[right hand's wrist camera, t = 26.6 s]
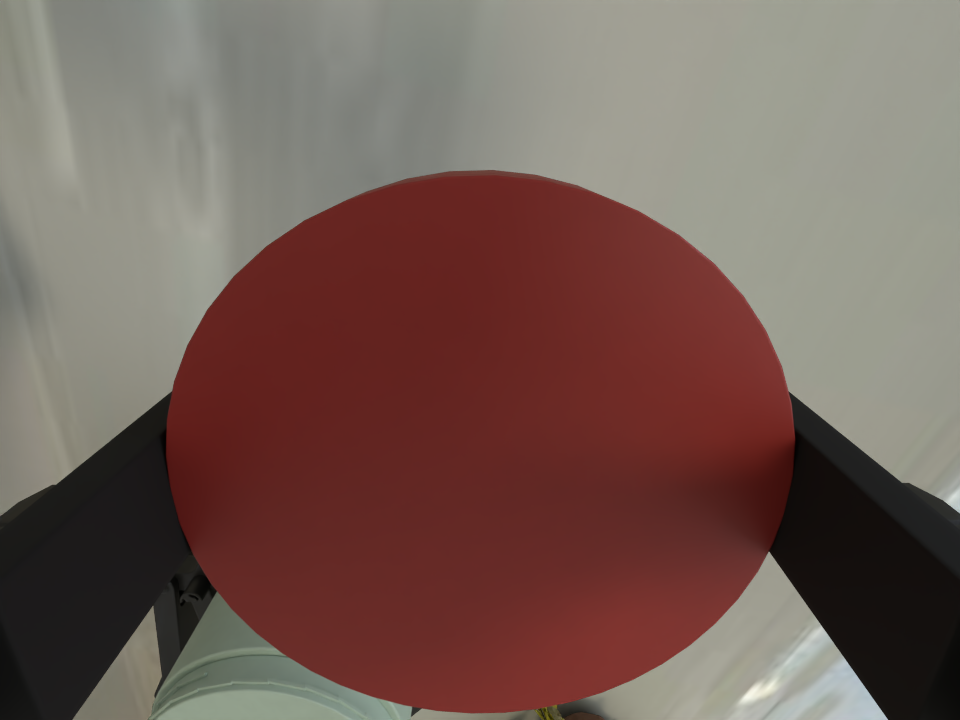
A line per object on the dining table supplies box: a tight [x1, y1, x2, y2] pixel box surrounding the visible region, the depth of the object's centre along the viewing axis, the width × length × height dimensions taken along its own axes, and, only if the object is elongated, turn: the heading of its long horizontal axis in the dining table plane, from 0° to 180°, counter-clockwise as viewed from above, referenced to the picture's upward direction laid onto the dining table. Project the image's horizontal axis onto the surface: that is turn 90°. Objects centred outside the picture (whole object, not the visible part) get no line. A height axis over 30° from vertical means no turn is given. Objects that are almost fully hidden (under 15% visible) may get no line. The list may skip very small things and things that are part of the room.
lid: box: [166, 170, 795, 713], centre depth 11 cm, size 12×12×2 cm
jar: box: [148, 592, 412, 720], centre depth 29 cm, size 10×10×17 cm
